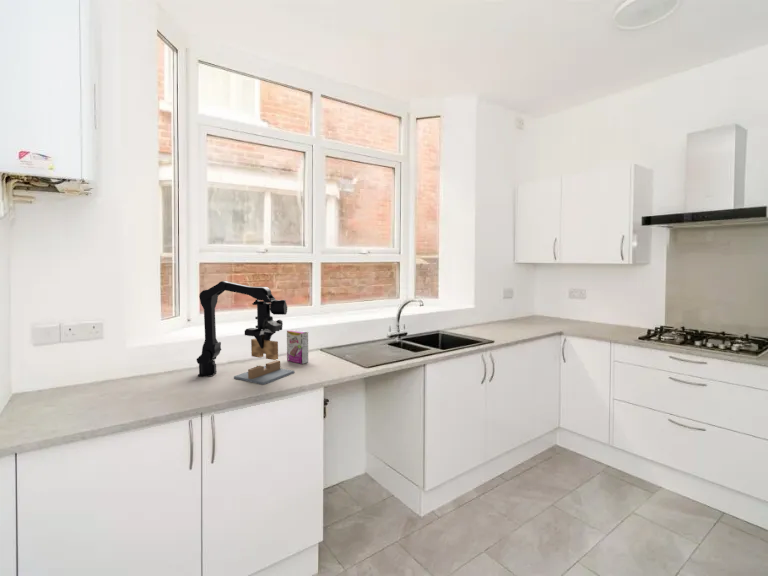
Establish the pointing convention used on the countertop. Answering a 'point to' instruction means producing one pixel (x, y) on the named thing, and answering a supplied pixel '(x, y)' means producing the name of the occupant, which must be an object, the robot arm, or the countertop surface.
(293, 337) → the candy bar box
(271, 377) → the joint board
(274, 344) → the crossbar
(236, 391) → the countertop surface
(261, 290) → the robot arm
